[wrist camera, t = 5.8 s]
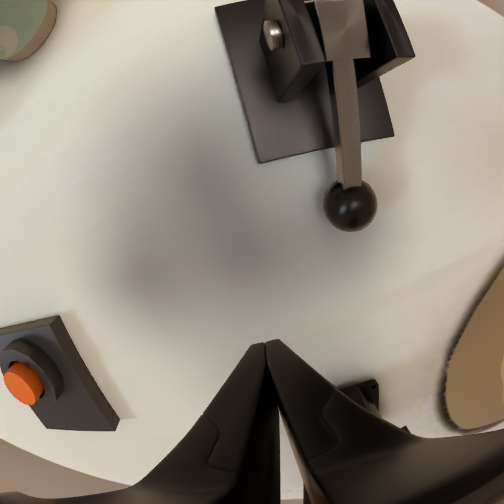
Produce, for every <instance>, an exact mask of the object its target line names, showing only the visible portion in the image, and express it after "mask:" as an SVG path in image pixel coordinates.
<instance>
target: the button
mask: <svg viewBox="0 0 504 504" xmlns="http://www.w3.org/2000/svg"><path fill="white" fill-rule="evenodd" d="M4 382H5V384H6V386H7V388H8V390H9V391H10V392H11V394H12V395H13V396H14V397H15V398H16V399H18V400H19V401H20V402H22V403H24V404H26V405H33V404H35V402H36V401H37V399H38V398H39V397H40V395H41V394H42V392H43V390H44V386H43V384H42V382H41V381H40V379H39V377H38V376H37V374H35V373H34V372H33V371H32V370H31V369H30V368H29V367H28V366H27V365H25V364H23V363H21V362H15V363H14V364H13V365H12V366H11V367H10V368H9V369H8V371H7V372H6V373H5V374H4Z"/></svg>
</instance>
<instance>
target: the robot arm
mask: <svg viewBox="0 0 504 504" xmlns="http://www.w3.org/2000/svg"><path fill="white" fill-rule="evenodd" d="M372 385H373V386H372ZM278 407H279V408H278ZM279 411H280V414H281V417H282V420H283V423H284V426H285V429H286V432H287V435H288V438H289V441H290V444H291V447H292V450H293V453H294V455H295V458H296V461H297V464H298V467H299V470H300V473H301V475H302V478H303V481H304V501H303V503H304V504H504V429H500V430H496V431H491V432H485V433H478V434H471V435H463V436H454V437H444V438H423V437H418V436H415V435H413V434H411V433H410V431H409V430H408V428H407V427H406V426H404V427H402V428H399V427H397V426H395V425H393V424H391V423H389V422H387V421H386V420H384V419H382V418H381V416H380V414H379V388H378V383H377V381H376V380H371V381H368V382H365V383H362V384H359V385H356V386H353V387H350V388H346V389H343V390H339V389H336V387H335V386H334V385H332V384H331V383H330V382H329V381H328V380H326V379H325V378H324V377H323V376H322V375H320V374H319V373H318V372H317V371H316V370H314V369H313V368H312V367H311V366H310V365H308V364H307V363H306V362H305V361H304V360H303V359H301V358H300V357H299V356H298V355H297V354H296V353H294V352H293V351H292V350H291V349H290V348H289V347H287V346H286V345H285V344H284V343H283V342H282V341H281V340H279V339H276V340H271V341H267V342H266V343H263V342H262V343H257V344H252V345H251V346H250V347H249V349H248V350H247V351H246V353H245V354H244V356H243V357H242V359H241V360H240V362H239V363H238V365H237V366H236V367H235V369H234V370H233V372H232V373H231V375H230V376H229V377H228V379H227V380H226V382H225V383H224V385H223V386H222V387H221V389H220V390H219V392H218V393H217V394H216V396H215V397H214V399H213V400H212V401H211V403H210V404H209V406H208V407H207V408H206V410H205V411H204V412H203V415H201V416H200V418H199V419H198V420H197V422H196V423H195V424H194V426H193V427H192V428H191V429H190V431H189V432H188V433H187V434H186V436H185V437H184V438H183V439H182V440H181V441H180V442H179V443H178V444H177V446H176V447H175V448H174V449H173V450H172V451H171V452H170V453H169V454H168V455H167V456H166V457H165V458H164V459H163V460H162V461H161V462H160V463H159V464H158V465H157V466H156V467H155V468H154V469H153V470H152V471H151V472H150V473H149V474H148V475H146V476H145V477H144V478H143V479H142V480H141V481H139V482H138V483H136V484H135V485H133V486H131V487H128V488H125V489H122V490H117V491H112V492H106V493H100V494H93V495H86V496H79V497H71V498H59V499H42V498H35V497H31V496H28V495H25V494H23V493H20V492H4V493H0V504H280V430H279Z"/></svg>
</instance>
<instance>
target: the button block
mask: <svg viewBox="0 0 504 504" xmlns="http://www.w3.org/2000/svg"><path fill="white" fill-rule="evenodd" d="M15 362H21V363H23V364H25V365H27V366H28V367H29V368H30V369H31V370H32V371H33V372H34V373H35V374H37V376H38V377H39V379H40V381H41V382H42V384H43V386H44V390H43V392H42V394H41V395H40V397H39V398H38V399H37V401H36V402H35V404H33V405H29V406H30V407H31V409H32V410H33V411H34V413H35V414H36V415H37V417H38V418H39V419H40V421H41V422H42V423H43V425H44V426H45V427H46V428H47V429H59V430H76V431H116V428H117V426H118V423H119V421H120V419H119V418H118V416H117V415H116V413H115V412H114V410H113V409H112V408H111V406H110V405H109V403H108V402H107V400H106V398H105V397H104V395H103V394H102V392H101V391H100V389H99V388H98V386H97V384H96V383H95V381H94V379H93V378H92V376H91V374H90V373H89V371H88V369H87V368H86V366H85V364H84V362H83V361H82V359H81V357H80V355H79V354H78V352H77V350H76V348H75V346H74V344H73V342H72V341H71V339H70V337H69V335H68V333H67V331H66V329H65V327H64V325H63V323H62V321H61V319H60V316H55V317H51V318H46V319H42V320H37V321H33V322H28V323H24V324H19V325H15V326H10V327H6V328H1V329H0V367H1V371H2V374H3V376H4V374H5V373H6V372H7V371H8V369H9V368H10V367H11V366H12V365H13V364H14V363H15Z"/></svg>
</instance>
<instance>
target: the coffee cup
mask: <svg viewBox="0 0 504 504" xmlns="http://www.w3.org/2000/svg"><path fill="white" fill-rule="evenodd" d="M55 19H56V8H55V5H54V4H53V3H52V2H51V1H50V0H0V59H3V60H12V61H19V60H23V59H25V58H27V57H29V56H30V55H31V54H33V53H34V52H35V51H36V50H37V49H38V48H39V47H40V46H41V45H42V44H43V43H44V41H45V40H46V39H47V37H48V35H49V34H50V32H51V30H52V28H53V25H54V23H55Z"/></svg>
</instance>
